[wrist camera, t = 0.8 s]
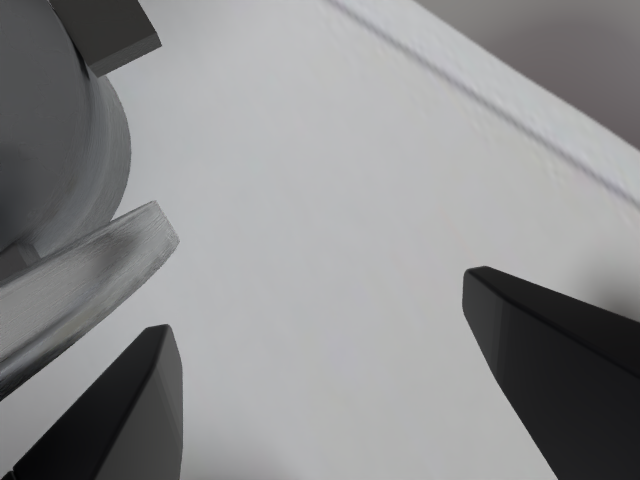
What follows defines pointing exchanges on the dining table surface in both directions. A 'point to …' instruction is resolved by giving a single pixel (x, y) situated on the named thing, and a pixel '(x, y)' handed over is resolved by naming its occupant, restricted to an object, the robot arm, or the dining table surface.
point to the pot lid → (77, 290)
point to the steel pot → (62, 120)
